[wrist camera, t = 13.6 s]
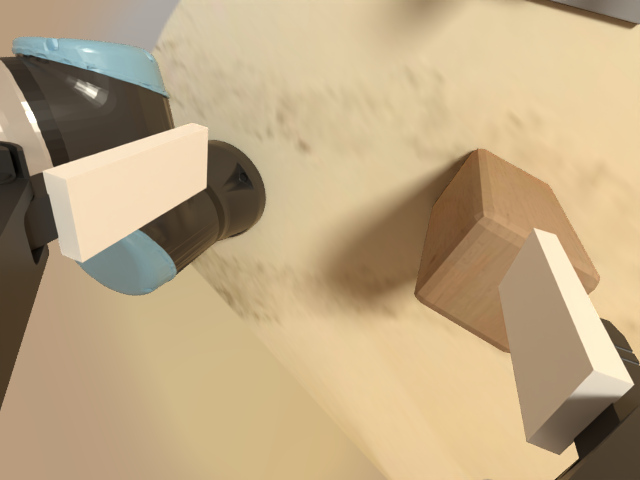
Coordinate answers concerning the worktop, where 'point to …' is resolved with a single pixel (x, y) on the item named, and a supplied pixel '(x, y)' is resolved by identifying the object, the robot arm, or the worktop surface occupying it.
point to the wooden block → (488, 242)
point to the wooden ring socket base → (609, 8)
